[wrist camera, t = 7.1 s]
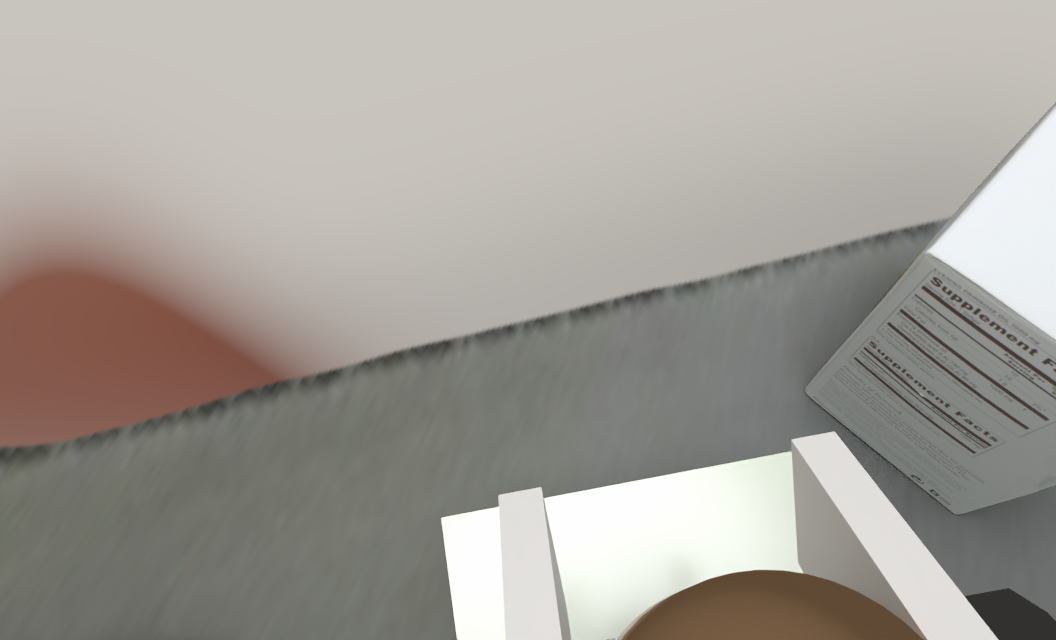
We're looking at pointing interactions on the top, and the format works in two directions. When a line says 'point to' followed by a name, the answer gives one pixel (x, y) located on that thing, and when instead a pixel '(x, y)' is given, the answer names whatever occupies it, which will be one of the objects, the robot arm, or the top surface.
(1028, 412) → the supplement box
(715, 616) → the plunger
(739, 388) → the top surface
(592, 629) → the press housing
